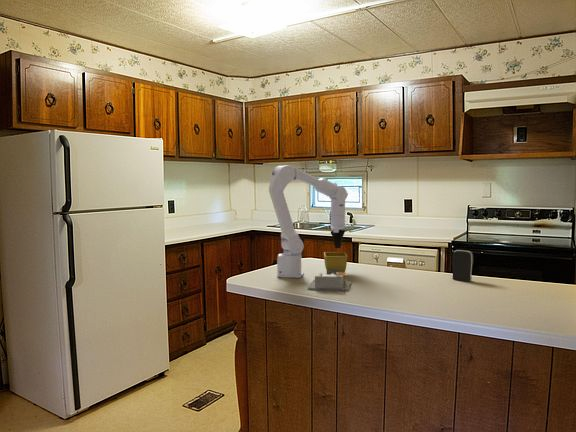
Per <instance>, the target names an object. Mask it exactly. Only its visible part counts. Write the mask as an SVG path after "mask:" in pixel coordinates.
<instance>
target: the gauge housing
mask: <svg viewBox="0 0 576 432" xmlns="http://www.w3.org/2000/svg"><path fill="white" fill-rule="evenodd" d="M322 275H323V273H321V272H319V273H318V274H317V275H314V279H313V280H312V281H311V283H310V284H309V285H308V287H307V290H308V291H322V292H323V291H324V292H344V293H345V292H346V293H347V292H349V291H350V287H351V283H352V282H351V281H350V280H347V281H346V280H344V277H345V275H344V274H341V275H340V276H339V277H329V276H322Z"/></svg>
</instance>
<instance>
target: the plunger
mask: <svg viewBox="0 0 576 432" xmlns="http://www.w3.org/2000/svg"><path fill="white" fill-rule="evenodd" d="M340 274H344V276H345V275H346V274H347V273H346V272H345V273H340V269H327V271H326V274H325V273H324V274H323V273H322V276H329V277H339V276H340Z"/></svg>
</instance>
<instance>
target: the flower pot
mask: <svg viewBox="0 0 576 432" xmlns="http://www.w3.org/2000/svg"><path fill="white" fill-rule="evenodd" d="M323 258H324V266H325V267H324V268H325V270H326V272H327V269H340V273H346V269H347V264H348V263H347V262H348V254H347V253H346V252H345V251H342V252H341V251H340V252H339V251H332V252H331V251H329V252H328V251H326V252H325V251H324V252H323ZM340 275H341V274H340Z"/></svg>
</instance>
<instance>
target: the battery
mask: <svg viewBox="0 0 576 432" xmlns="http://www.w3.org/2000/svg"><path fill="white" fill-rule="evenodd" d="M473 265H474V253H473V251H471V250H465V249H456V250H455V251H453V253H452V280H455V281H461V282H472V279H473V278H472V276H473V275H472V271H473Z"/></svg>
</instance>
